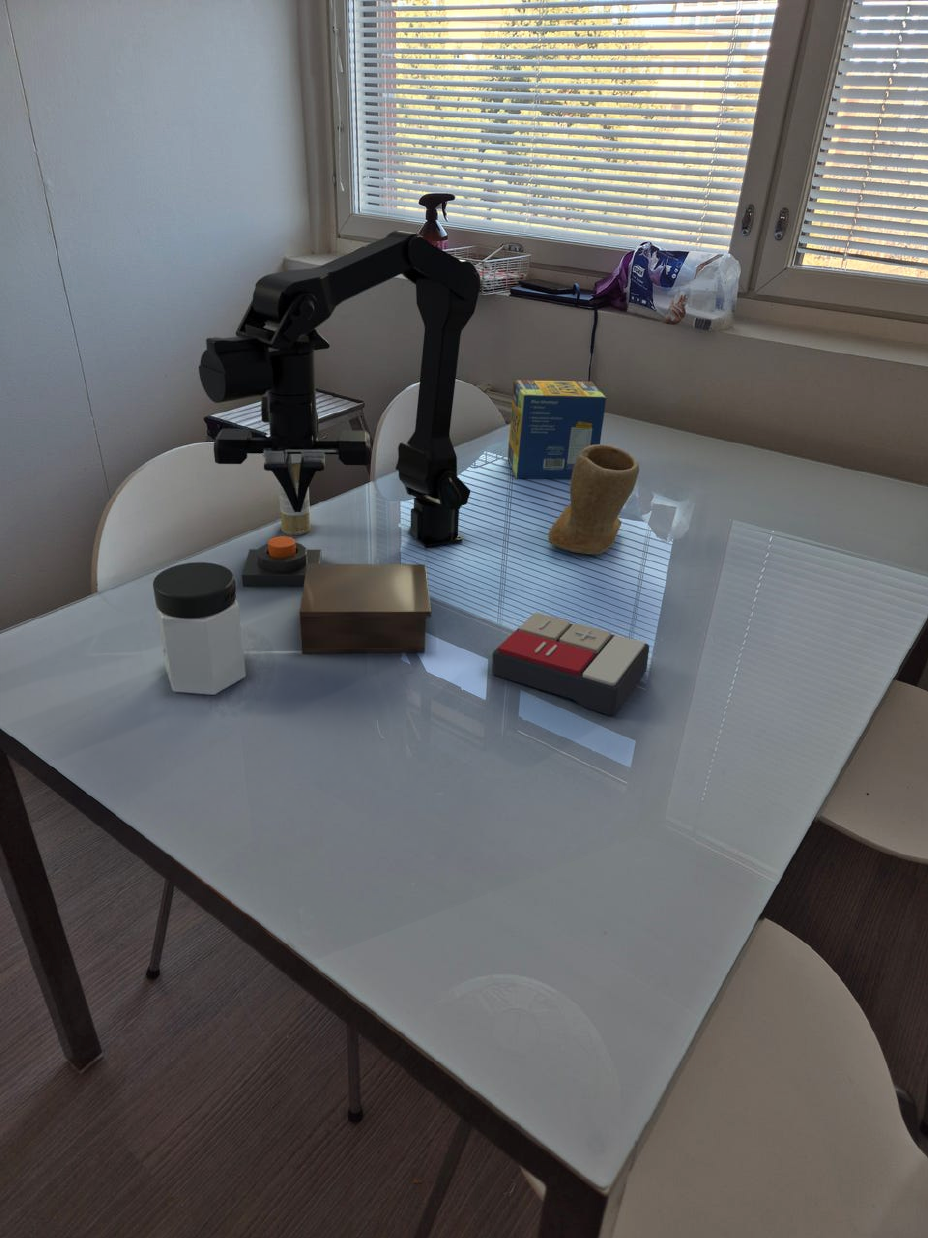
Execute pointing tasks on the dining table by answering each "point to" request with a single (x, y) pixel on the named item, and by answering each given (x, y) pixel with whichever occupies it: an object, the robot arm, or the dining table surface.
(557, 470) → the protein box
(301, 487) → the robot arm
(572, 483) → the stone cup
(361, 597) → the lid
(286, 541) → the button
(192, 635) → the jar
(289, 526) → the sprinkles bottle
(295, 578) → the control block
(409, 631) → the wooden box
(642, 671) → the calculator
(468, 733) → the dining table surface
